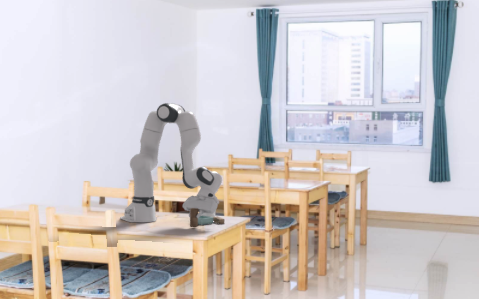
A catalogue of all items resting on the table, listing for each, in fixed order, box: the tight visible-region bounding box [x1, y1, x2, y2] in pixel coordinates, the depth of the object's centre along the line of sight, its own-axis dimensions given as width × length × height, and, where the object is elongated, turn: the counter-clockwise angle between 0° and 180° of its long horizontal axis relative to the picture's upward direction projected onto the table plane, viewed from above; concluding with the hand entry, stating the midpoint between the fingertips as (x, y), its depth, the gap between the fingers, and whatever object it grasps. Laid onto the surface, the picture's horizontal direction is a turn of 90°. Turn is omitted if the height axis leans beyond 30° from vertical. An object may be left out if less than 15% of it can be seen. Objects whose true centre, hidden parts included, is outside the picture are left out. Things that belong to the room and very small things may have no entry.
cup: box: [198, 215, 214, 226], centre depth 340 cm, size 9×9×4 cm
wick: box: [213, 216, 225, 225], centre depth 344 cm, size 10×3×3 cm, turn 26°
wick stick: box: [189, 208, 199, 228], centre depth 324 cm, size 3×3×10 cm
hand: (193, 217), depth 323 cm, fingers closed on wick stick, 3 cm apart
